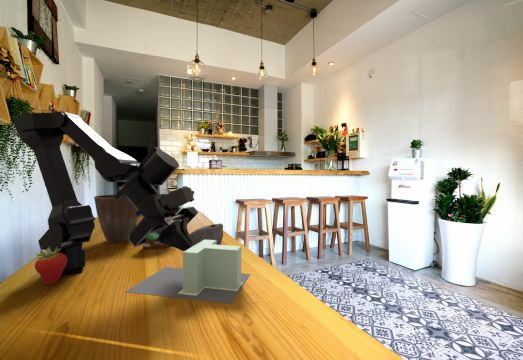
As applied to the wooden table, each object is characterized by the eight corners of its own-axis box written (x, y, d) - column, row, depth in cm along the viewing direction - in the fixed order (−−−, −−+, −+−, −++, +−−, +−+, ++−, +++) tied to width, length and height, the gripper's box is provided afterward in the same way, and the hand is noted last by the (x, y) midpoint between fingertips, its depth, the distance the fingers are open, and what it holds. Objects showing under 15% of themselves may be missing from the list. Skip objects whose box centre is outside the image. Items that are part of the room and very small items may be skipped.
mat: (124, 293, 49) (124, 291, 49) (165, 267, 63) (165, 266, 63) (231, 305, 45) (231, 303, 45) (250, 275, 59) (250, 274, 59)
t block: (182, 292, 49) (182, 252, 49) (204, 273, 59) (204, 239, 59) (231, 298, 47) (231, 255, 47) (245, 277, 57) (245, 242, 57)
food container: (148, 252, 75) (148, 219, 75) (138, 249, 79) (138, 217, 79) (183, 244, 85) (183, 214, 85) (173, 241, 89) (173, 213, 89)
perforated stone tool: (190, 254, 75) (190, 231, 75) (180, 250, 78) (180, 228, 78) (228, 244, 86) (228, 224, 86) (218, 241, 90) (218, 222, 89)
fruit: (35, 282, 54) (35, 245, 54) (66, 276, 57) (66, 241, 57) (34, 291, 50) (33, 251, 50) (68, 284, 53) (67, 246, 53)
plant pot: (151, 239, 92) (151, 195, 92) (108, 248, 79) (108, 198, 79) (128, 233, 100) (128, 193, 99) (85, 242, 87) (85, 196, 87)
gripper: (142, 173, 46) (198, 237, 44) (190, 174, 64) (232, 219, 62) (105, 215, 47) (158, 278, 45) (163, 204, 66) (202, 249, 64)
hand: (193, 252), depth 54 cm, fingers closed, pressing on t block
